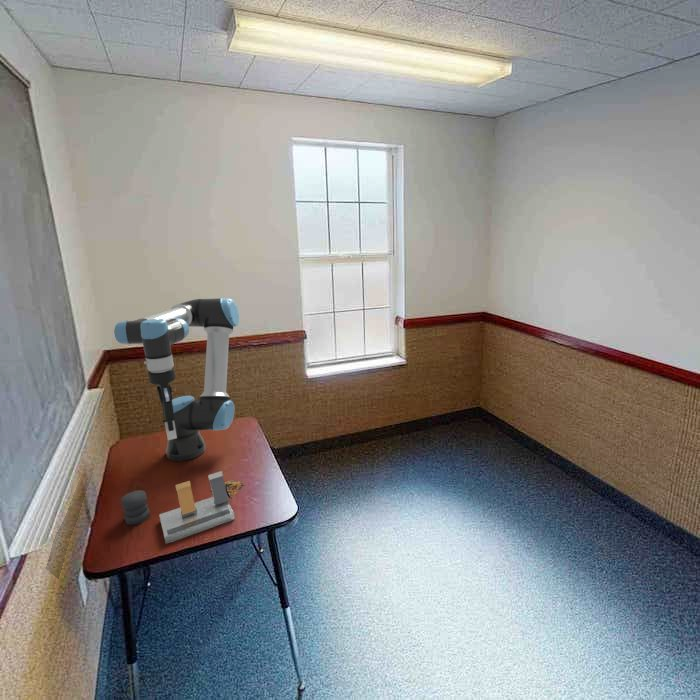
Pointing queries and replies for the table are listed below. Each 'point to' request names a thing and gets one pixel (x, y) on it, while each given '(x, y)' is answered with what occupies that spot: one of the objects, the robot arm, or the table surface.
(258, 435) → the table surface
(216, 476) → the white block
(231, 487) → the butterfly model
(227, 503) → the panel
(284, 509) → the table surface
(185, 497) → the paddle orange
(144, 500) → the grey stacked discs
